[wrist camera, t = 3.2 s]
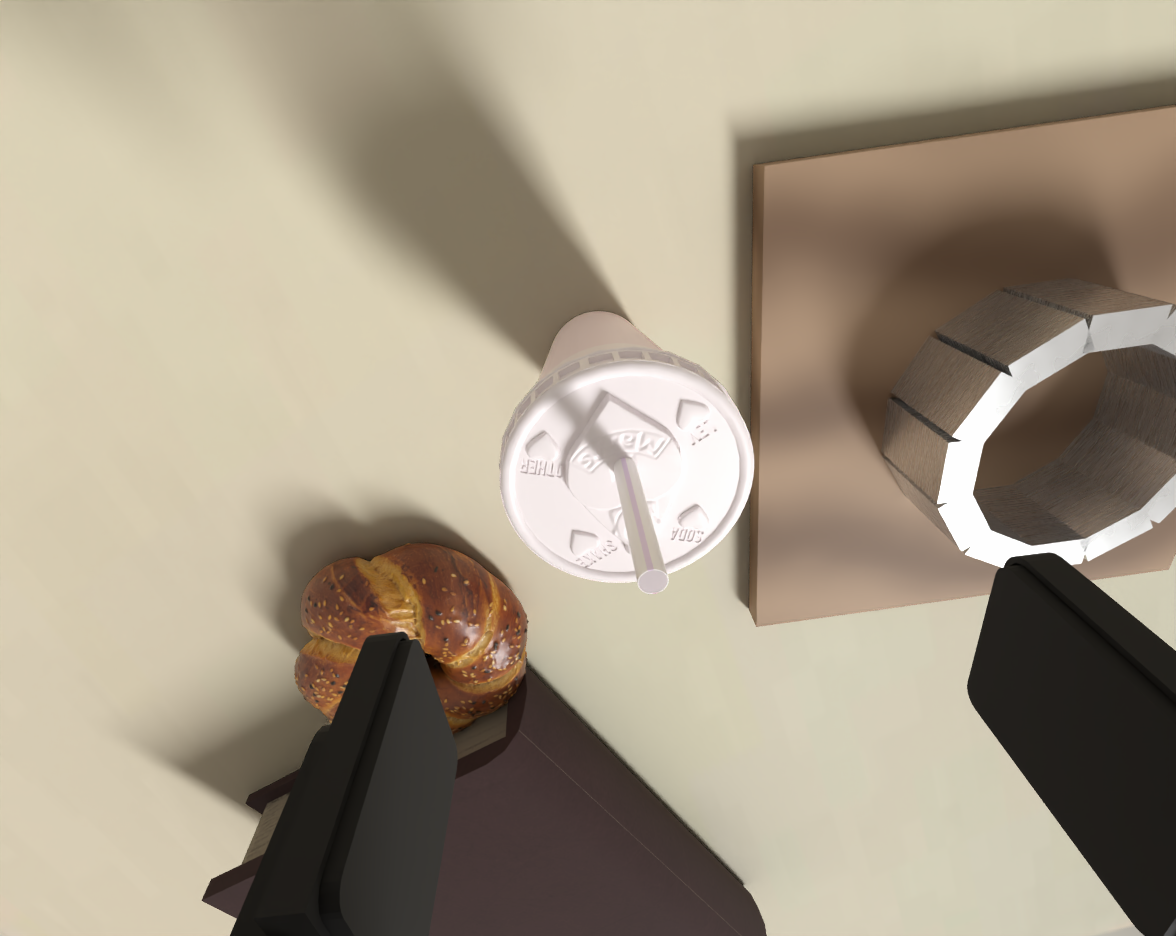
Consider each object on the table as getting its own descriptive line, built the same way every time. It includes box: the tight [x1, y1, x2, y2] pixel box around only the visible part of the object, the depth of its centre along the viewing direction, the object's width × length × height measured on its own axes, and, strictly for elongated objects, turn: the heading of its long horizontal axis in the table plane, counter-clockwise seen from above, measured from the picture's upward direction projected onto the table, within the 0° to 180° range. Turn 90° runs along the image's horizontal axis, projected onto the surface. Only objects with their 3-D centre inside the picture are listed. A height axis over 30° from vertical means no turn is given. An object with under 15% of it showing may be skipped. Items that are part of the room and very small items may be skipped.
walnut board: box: [749, 104, 1176, 627], centre depth 24 cm, size 20×20×1 cm
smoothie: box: [499, 311, 754, 594], centre depth 17 cm, size 6×6×14 cm
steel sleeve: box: [881, 278, 1176, 567], centre depth 22 cm, size 10×10×4 cm
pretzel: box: [294, 543, 528, 735], centre depth 28 cm, size 12×11×4 cm
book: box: [202, 666, 767, 936], centre depth 36 cm, size 28×20×6 cm
